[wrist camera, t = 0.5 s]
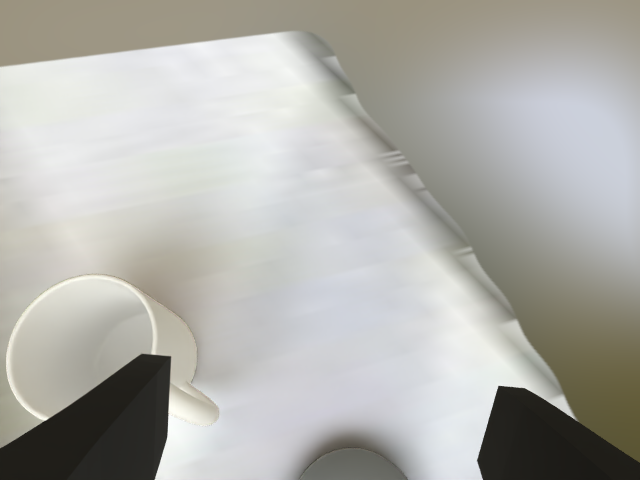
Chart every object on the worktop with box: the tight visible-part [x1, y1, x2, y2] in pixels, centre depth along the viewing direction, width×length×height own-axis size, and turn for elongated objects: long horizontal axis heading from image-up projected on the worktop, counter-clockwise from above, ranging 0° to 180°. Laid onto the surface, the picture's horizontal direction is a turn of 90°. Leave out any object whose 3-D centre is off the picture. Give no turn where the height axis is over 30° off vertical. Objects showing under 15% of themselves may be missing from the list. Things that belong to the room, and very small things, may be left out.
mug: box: [6, 274, 219, 426], centre depth 30 cm, size 12×8×10 cm
